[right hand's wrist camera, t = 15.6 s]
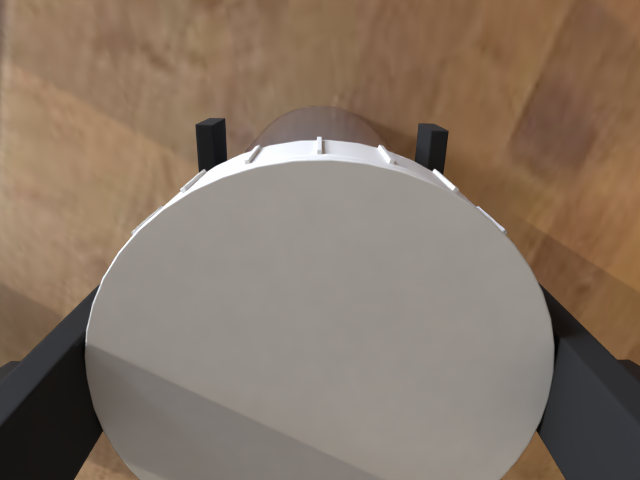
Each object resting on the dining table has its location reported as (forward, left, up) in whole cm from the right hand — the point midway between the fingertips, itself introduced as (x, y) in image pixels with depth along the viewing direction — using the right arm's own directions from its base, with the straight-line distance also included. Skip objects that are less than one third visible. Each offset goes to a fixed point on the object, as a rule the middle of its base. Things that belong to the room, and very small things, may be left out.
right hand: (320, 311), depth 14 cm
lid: (0, 0, +3) cm, 3 cm away
